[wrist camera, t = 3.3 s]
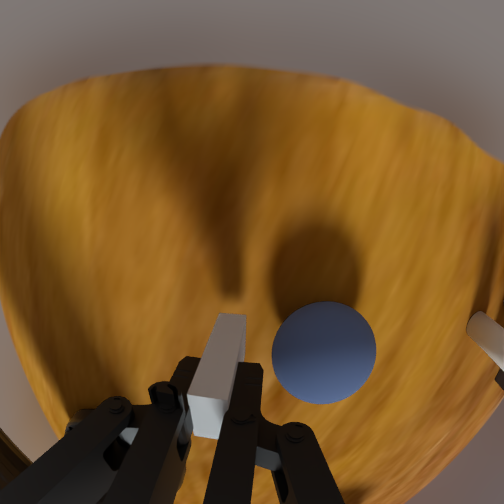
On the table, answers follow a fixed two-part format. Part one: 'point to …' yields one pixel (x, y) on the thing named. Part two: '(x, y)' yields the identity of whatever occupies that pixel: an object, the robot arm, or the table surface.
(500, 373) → the back wall
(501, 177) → the table surface
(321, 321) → the ball
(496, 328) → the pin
